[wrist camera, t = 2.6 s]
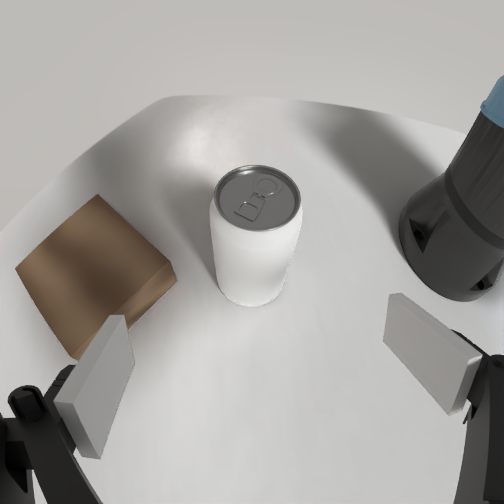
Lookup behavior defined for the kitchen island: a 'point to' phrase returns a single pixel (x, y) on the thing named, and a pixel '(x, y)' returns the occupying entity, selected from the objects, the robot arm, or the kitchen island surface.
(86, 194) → the kitchen island surface
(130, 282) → the walnut stand
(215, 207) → the can
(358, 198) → the kitchen island surface
